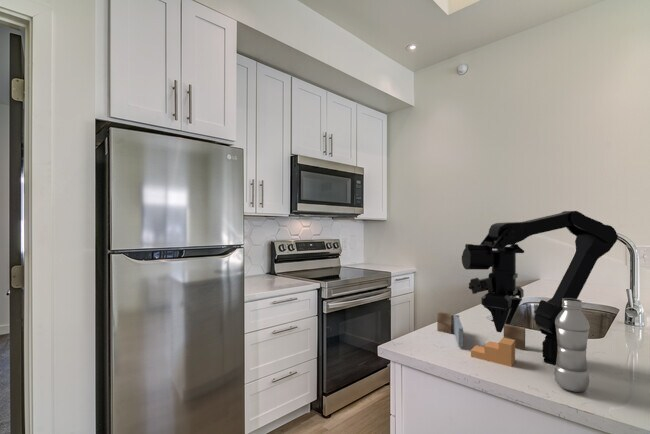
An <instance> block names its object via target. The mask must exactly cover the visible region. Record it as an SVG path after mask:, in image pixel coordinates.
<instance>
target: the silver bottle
mask: <svg viewBox="0 0 650 434" xmlns="http://www.w3.org/2000/svg"><path fill="white" fill-rule="evenodd" d="M562 307H563V310H562V311H561V312H560V313H559V314H558V316H557V317H556V319H555V325H556V326H555V327H556V333H557V344H558V346H557V347H558V352H557V361H556V364H554V365H555V366H554V372H553V376H554V381H555V382H556V384H557V385H558V386H559V387H560V388H562V389H564V390H567V391H571V392H576V393H582V392H585V391H587V390H588V388H589V385H590V375H589V371H588V364H587V363H588V362H587V349H588V347H587V346H588V338H589V335H590V334H589V333H590V328H591V326H590V323H589V320H588V318H587V317H586V316H585V315H584V313H583V312H582V310H583V302H582V300H581V299H578V298H577V299H572V298H563V299H562Z"/></svg>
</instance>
